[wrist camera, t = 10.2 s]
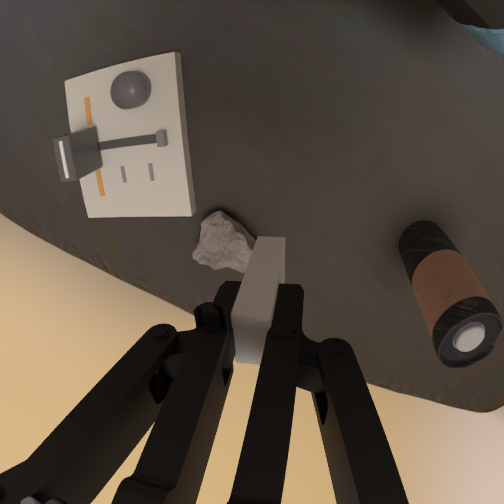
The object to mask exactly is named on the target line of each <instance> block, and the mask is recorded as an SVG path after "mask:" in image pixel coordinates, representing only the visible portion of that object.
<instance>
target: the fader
mask: <svg viewBox="0 0 504 504" xmlns="http://www.w3.org/2000/svg"><path fill="white" fill-rule="evenodd" d="M53 144H54V150H55V155H56V160H57V165H58V170H59V175H60V179H61V182H68V181H76V180H78V179H80V178H82V177H84V176H86V175H88V174H90V173H91V172H93V171H95V170H97V169H99V168H101V167H102V164H101V159H100V153H99V147H98V141H97V134H96V127H91V128H86V129H81V130H78V131H75V132H72V133H69V134H66V135H63V136H60V137H57V138H54V139H53Z"/></svg>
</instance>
